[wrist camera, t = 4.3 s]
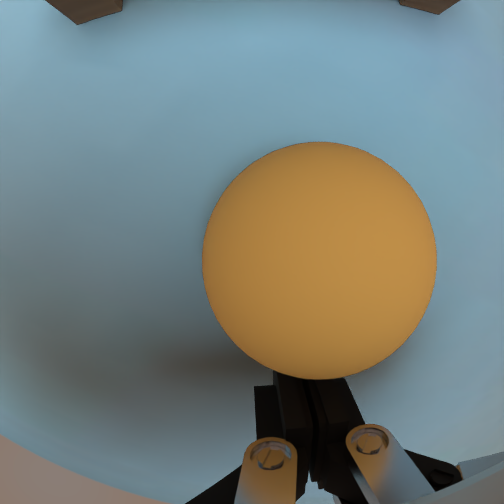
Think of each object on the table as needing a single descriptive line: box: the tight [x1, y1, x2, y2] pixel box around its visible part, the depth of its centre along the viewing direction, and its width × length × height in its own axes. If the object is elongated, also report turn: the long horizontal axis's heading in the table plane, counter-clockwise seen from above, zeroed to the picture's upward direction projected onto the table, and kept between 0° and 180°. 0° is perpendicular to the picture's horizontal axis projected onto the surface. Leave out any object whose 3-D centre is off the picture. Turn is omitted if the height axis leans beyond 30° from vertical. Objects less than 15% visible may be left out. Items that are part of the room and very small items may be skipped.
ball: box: [202, 142, 437, 379], centre depth 8 cm, size 6×6×6 cm
